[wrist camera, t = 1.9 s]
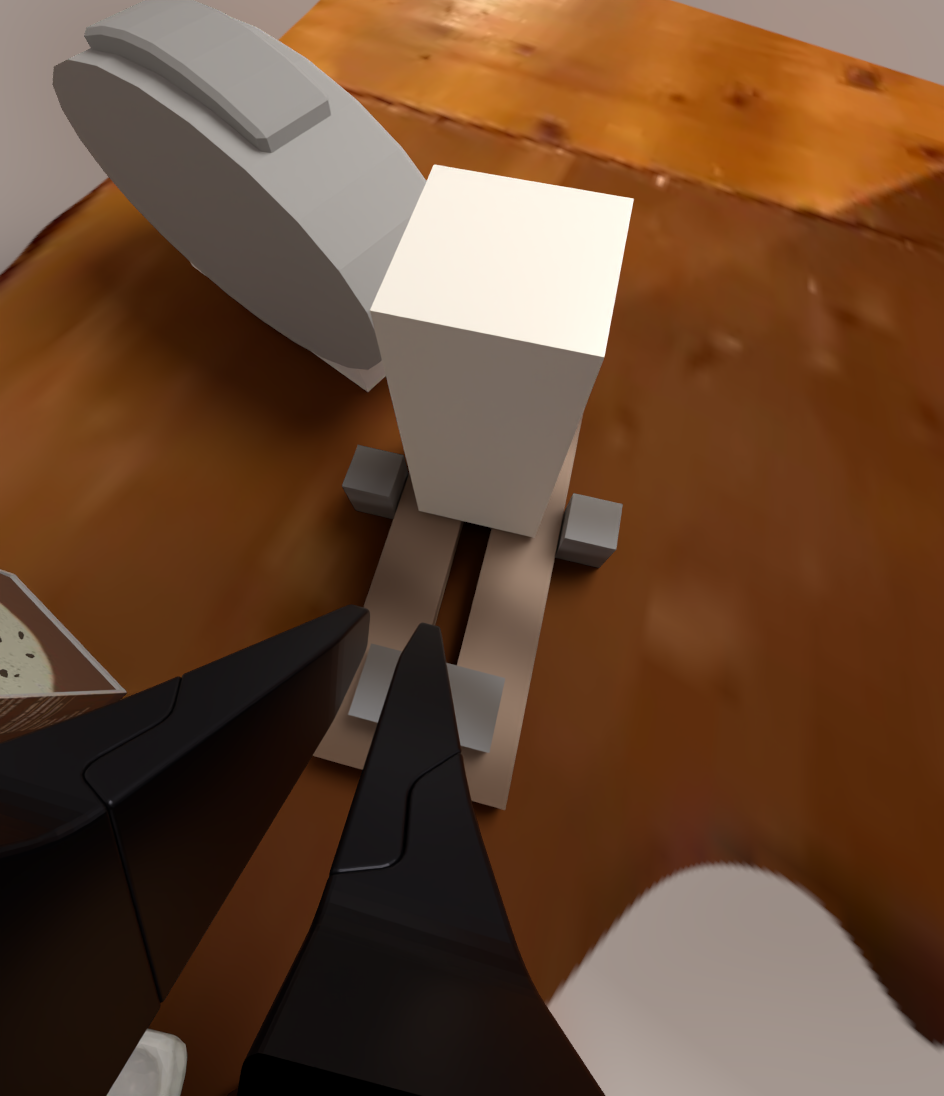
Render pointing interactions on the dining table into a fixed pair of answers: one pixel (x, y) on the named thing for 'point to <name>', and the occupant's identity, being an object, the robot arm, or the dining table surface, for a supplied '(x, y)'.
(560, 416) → the block
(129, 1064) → the square plate
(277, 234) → the alarm clock
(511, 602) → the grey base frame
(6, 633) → the food container
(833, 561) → the dining table surface
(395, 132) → the dining table surface
